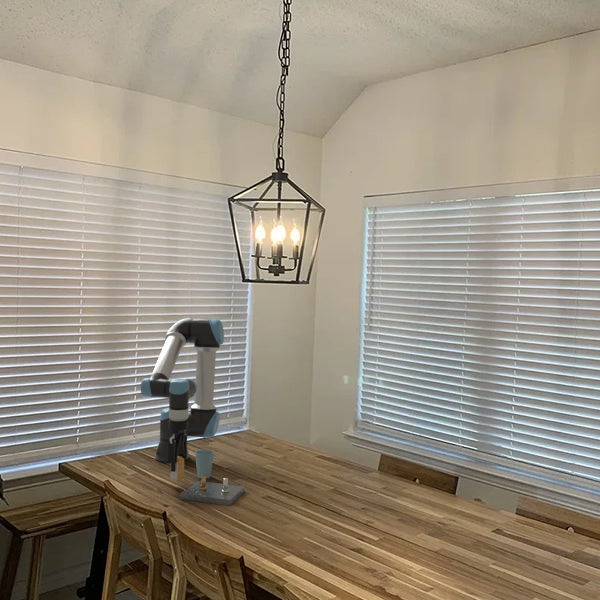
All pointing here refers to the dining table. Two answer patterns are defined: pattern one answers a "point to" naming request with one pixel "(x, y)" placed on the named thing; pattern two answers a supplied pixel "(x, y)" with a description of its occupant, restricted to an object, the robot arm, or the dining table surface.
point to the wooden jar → (179, 467)
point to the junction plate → (212, 492)
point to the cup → (204, 462)
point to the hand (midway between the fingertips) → (177, 476)
